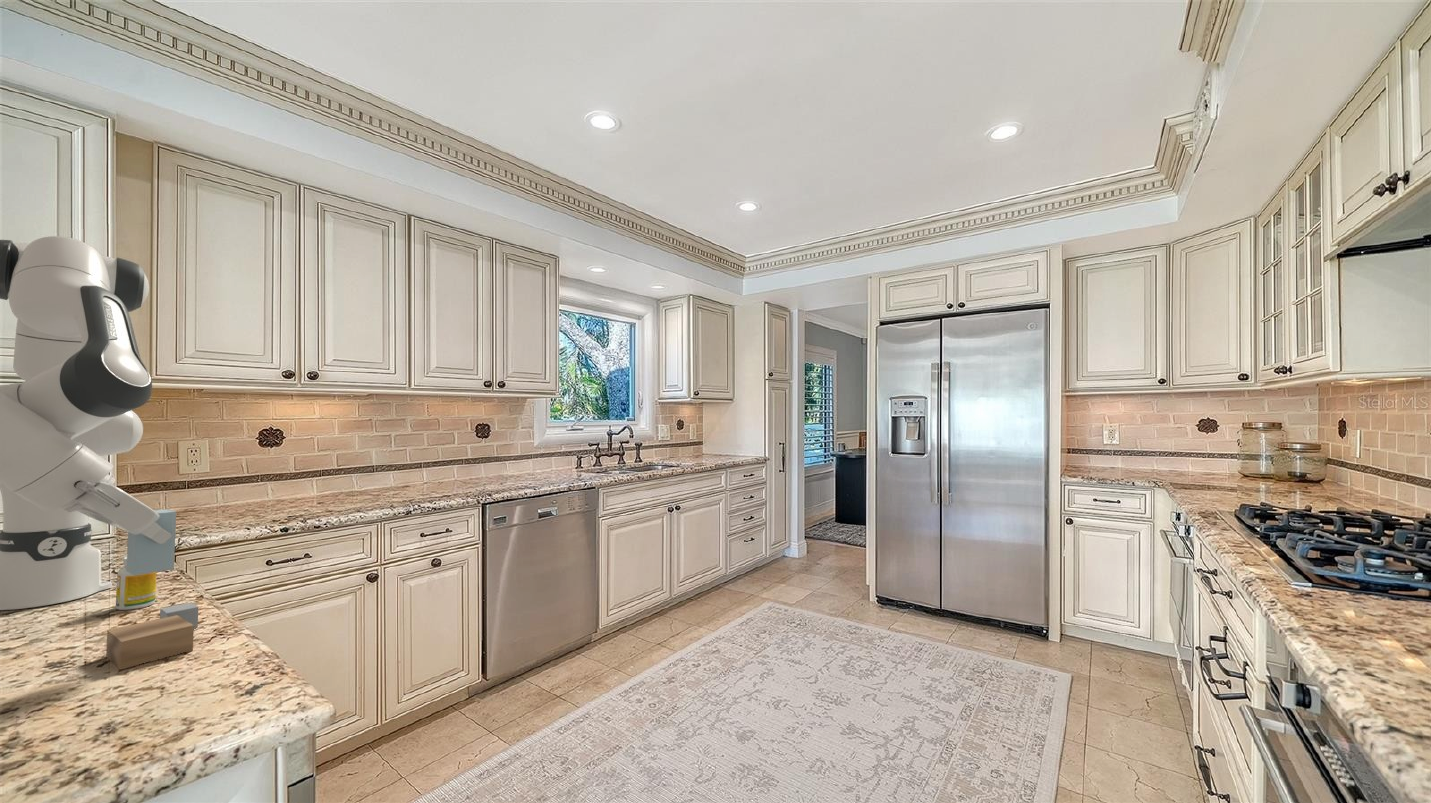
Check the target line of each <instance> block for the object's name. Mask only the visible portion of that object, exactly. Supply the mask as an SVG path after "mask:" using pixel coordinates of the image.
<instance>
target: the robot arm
mask: <svg viewBox="0 0 1431 803" xmlns="http://www.w3.org/2000/svg"><path fill="white" fill-rule="evenodd" d="M149 283H150V282H149V279H148V277H147V275H146V273H145V270H144V269H143V267H142V266H141V265H140V264H138V263H136V262H133V261H130V260H127V259H123V258H121V257H117V258H114V257H111V256H106V255H102V254H101V253H99V251H97V249H95V248H94V247H92V245H89V244H88V243H86V242H84V241H81V240H79V239H76V238H73V237H68V236H59V235H57V236H56V235H53V236H52V235H51V236H44V237H40V238H38V239H35V240H33V241H31V242H30V243H22V242H13V240H11V239H0V300H5V301H8V303H9V306H10V309H11V312H12V315H13V316H14V317H16V319H17V321H16V327H15V328H16V329H15V340H14V352H13V366H12V368H13V370H14V372H15V374H16V375H17V376H18V378H20V379H22V380H23V382H21V383H20V382H15V383H11V384H10V383H9V384H3V385H1V384H0V493H1V497H2V498H1V500H2V512H3V515H2V517H3V518H2V519H3V521H2V523H3V524H2V530H1V531H0V611H4V610H5V611H8V610H11V611H12V610H19V609H28V608H37V607H43V606H49V605H54V604H59V603H65V602H69V601H73V600H78V599H81V598H84V597H89V596H90V595H93V594H95V593H97V592H101V591H105V590H108V589H110V588H112V587H113V583H112V581H106V580H103V579H102V559H101V558H102V555H101V554H102V553H101V549H98V548H97V547H95V546H93V545H91V543H90V542H91V540H92V534H93V529H92V524H90V523H89V520H90V519H89V518H92V519H94V520H96V521H98V522H102V523H104V524H107V525H109V526H112V527H115V528H117V529H120V530H123V531H125V532H127V533H128V532H130V533H132V534H140V533H141V534H143V535H145V536H147V537H148V538H150V539H152V540H153V541H155V542H157V543H159V544H163V543H165V542H166V541H167V540H168V539H169V538H170V537H171V534H170V533H168V532H167V531H165V530H164V529H162V528H161V527H160V526H159V525H158V524H157V523H156V522H155V521H156V520H157V519H158V518H159V517H160V516H159V514H158V513H157V512H156V511H154V510H155V509H153V508H151V507H150V506H148V505H146V504H145V503H143V502H142V501H140V500H139V499H137V498H135V497H134V496H132V495H131V494H129V493H128V492H126V491H124V490H123V489H121V488H120V487H117V486H116V485H114V484H115V482H116V478H115V477H113V476H112V475H110V473H111V472H112V470H113V469H114V465H113V464H112V463H111V462H110V461H108V460H106V459H105V458H103V457H105V456H111V455H112V456H113V455H117V454H123V453H128V452H130V451H131V450H132V449H133V448H135V447H137V445H138V444H139V442H141V440H142V437H143V434H144V425H143V422H142V420H141V418H140V417H139V415H138V414H137V413H135V411H133V410H136V409H137V408H141V407H142V406H144V405H146V403H148V402H149V400H150V399H151V396H152V391H153V381H152V377H151V374H150V372H149V370H148V369H147V367H146V365H145V364H144V362H143V361H142V359H141V354H140V351H139V348H138V343H137V340H136V336H135V332H134V331H135V330H134V327H133V323H132V321H131V316H130V314H129V313H130V312H133V311H136V310H138V309H140V308H141V307H142V305H143V303H145V301H146V300H147V298H148V296H149V293H150V284H149Z"/></svg>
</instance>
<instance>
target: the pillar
mask: <svg viewBox="0 0 1431 803" xmlns="http://www.w3.org/2000/svg"><path fill="white" fill-rule="evenodd" d="M153 510H154V511H156V512H157V513H158V514H159V516H160V517H159V518H158V519H157V520H156V521H155V522H156V523H157V524H158V525H159V526H160V527H161V528H162V529H164V530H165V531H167V532H168V533H170V534H171V537H170V538H169V539H168V540H167V541H166V542H165V543H163V544H159V543H157V542H155V541H153V540H152V539H150V538H148V537H147V536H145V535H143V534H141V533H140V534H132V533H130V532H127V545H126V546H127V547H126V548H127V549H126V551H127V552H126V557H127V568H126V571H127V572H129V573H131V574H133V575H141V574H147V573H153V572H157V573H158V572H159V573H160V572H165V571H170V570H174V569H175V551H176V528H177V527H176V526H177V524H176V523H177V511H176V510H173V509H169V508H167V509H166V508H165V509H153Z"/></svg>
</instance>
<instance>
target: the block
mask: <svg viewBox="0 0 1431 803" xmlns="http://www.w3.org/2000/svg"><path fill="white" fill-rule="evenodd" d="M159 610H160V611H159V612H160V613H159V619H162V618H167V617H171V616H176V615H178V616H179V617H181V618H183V619H184V620H186V621H188V622H189V623H191V624H193V625H194V629H196V628H198V626H199V625H198V624H199V622H198V621H199V606H198V605H196V604H194V603H193V602H187V603H182V604H181V603H180V604H176V605H172V606H165V607H160V609H159Z"/></svg>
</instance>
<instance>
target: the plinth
mask: <svg viewBox="0 0 1431 803" xmlns="http://www.w3.org/2000/svg"><path fill="white" fill-rule="evenodd" d="M194 632H195V630H194V625H193V624H191V623H189V622H188V621H186V620H184V619H183V618H181V617H179V616H178V615H176V616H171V617H167V618H162V619H160V618H158V619H152V620H148V621H144V622H139V623H135V624H130V625H126V626H122V627H121V626H120V627H117V628H116V627H115V628H110V629H107V633H106V652H105V654H106V655H105V657H106V658H107V659H108V660H109V661H110V662H112V664H113V665H115V666H116V667H117V668H118V669H119V670H124V669H127V668H132V667H134V666H135V667H136V666H139V664H140V665H143V664H142V663H144V664H146V662H148V661H151V662H154V661H159V660H162V659H161V658H163V659H166V658H165V657H167V658H170V657H169V656H171V657H174V656H173V655H175V656H178V655H177V654H179V655H181V654H180V653H182V654H184V653H183V652H186V653H190V652H193V651H194ZM158 659H159V660H158ZM148 663H149V662H148Z"/></svg>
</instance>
